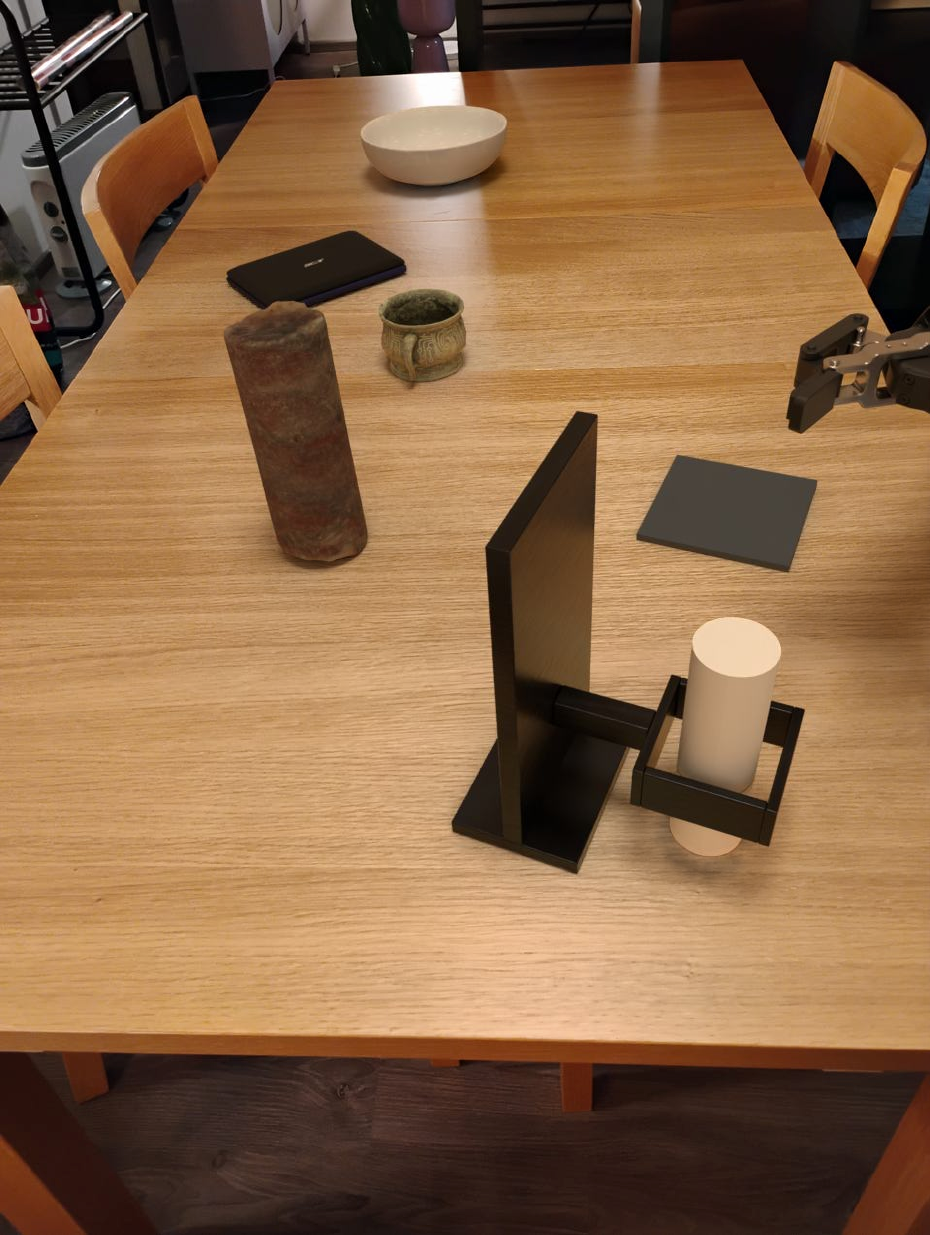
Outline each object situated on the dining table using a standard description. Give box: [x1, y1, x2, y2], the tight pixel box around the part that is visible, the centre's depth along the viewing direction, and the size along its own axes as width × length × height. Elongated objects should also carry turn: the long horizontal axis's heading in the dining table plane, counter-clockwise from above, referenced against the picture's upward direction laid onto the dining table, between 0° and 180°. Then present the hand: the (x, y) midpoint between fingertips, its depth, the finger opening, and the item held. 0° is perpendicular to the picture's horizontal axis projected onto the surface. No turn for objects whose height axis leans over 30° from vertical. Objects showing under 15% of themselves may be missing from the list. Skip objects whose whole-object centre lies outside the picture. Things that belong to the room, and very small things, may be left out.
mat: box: [635, 454, 818, 573], centre depth 81 cm, size 12×12×1 cm
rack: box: [451, 410, 806, 874], centre depth 53 cm, size 18×12×23 cm
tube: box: [669, 616, 782, 857], centre depth 54 cm, size 4×4×15 cm
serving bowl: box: [359, 105, 508, 187], centre depth 142 cm, size 21×21×7 cm
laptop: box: [225, 230, 407, 310], centre depth 120 cm, size 16×20×2 cm
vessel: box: [378, 288, 467, 383], centre depth 101 cm, size 12×9×6 cm
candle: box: [223, 301, 368, 562], centre depth 75 cm, size 8×7×20 cm
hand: (870, 445), depth 51 cm, fingers open, 8 cm apart
